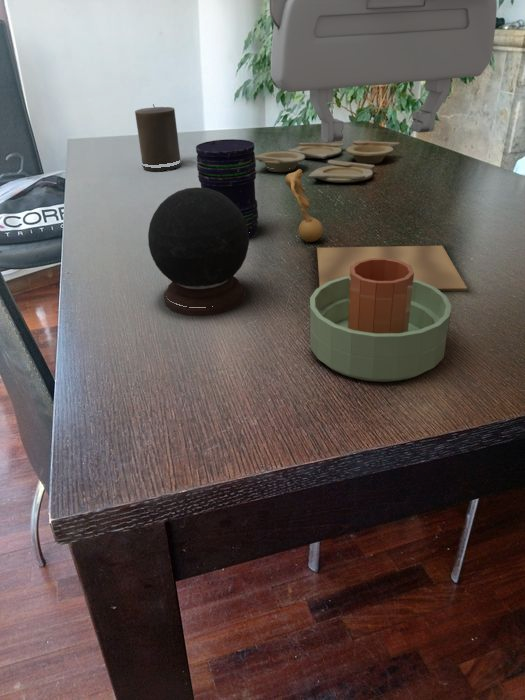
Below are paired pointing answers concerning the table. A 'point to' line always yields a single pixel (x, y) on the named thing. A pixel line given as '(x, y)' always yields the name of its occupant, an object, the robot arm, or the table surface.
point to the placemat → (424, 260)
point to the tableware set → (339, 169)
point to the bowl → (379, 335)
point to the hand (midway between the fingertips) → (378, 136)
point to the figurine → (304, 209)
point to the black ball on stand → (199, 250)
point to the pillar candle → (158, 137)
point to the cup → (380, 296)
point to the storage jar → (231, 174)
